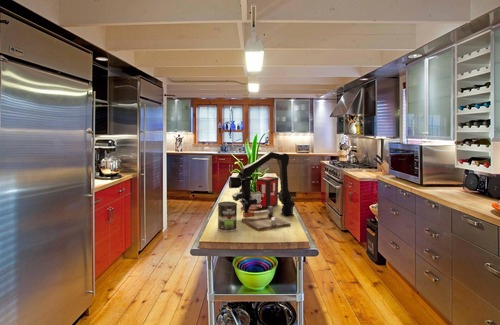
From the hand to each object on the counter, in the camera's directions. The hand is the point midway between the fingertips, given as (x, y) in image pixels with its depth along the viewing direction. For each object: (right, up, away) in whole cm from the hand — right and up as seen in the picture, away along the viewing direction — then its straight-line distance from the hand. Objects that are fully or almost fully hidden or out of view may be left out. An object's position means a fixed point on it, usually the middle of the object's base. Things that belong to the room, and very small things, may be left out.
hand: (245, 212), depth 190 cm
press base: (+12, -5, -9) cm, 16 cm away
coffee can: (-10, -6, -20) cm, 23 cm away
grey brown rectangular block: (+16, -4, -15) cm, 22 cm away
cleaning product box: (+15, -1, +33) cm, 36 cm away
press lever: (+8, -2, -4) cm, 9 cm away
